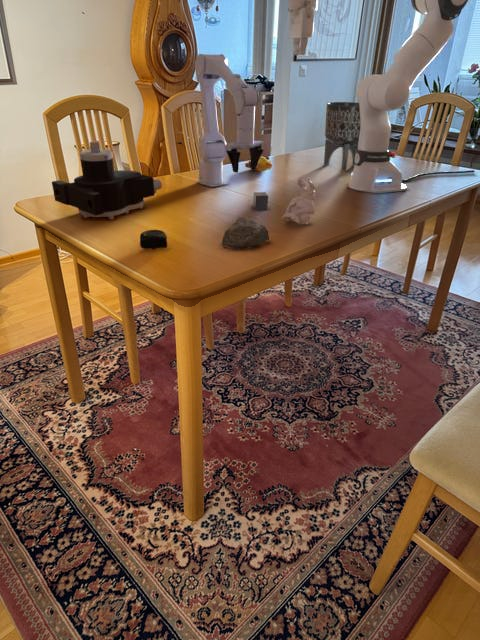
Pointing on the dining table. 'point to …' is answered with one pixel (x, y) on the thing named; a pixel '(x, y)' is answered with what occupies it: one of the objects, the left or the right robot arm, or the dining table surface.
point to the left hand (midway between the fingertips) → (244, 170)
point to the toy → (261, 164)
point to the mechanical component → (104, 186)
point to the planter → (342, 130)
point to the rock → (245, 234)
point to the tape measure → (153, 239)
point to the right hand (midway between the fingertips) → (299, 55)
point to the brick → (260, 200)
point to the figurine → (301, 204)
